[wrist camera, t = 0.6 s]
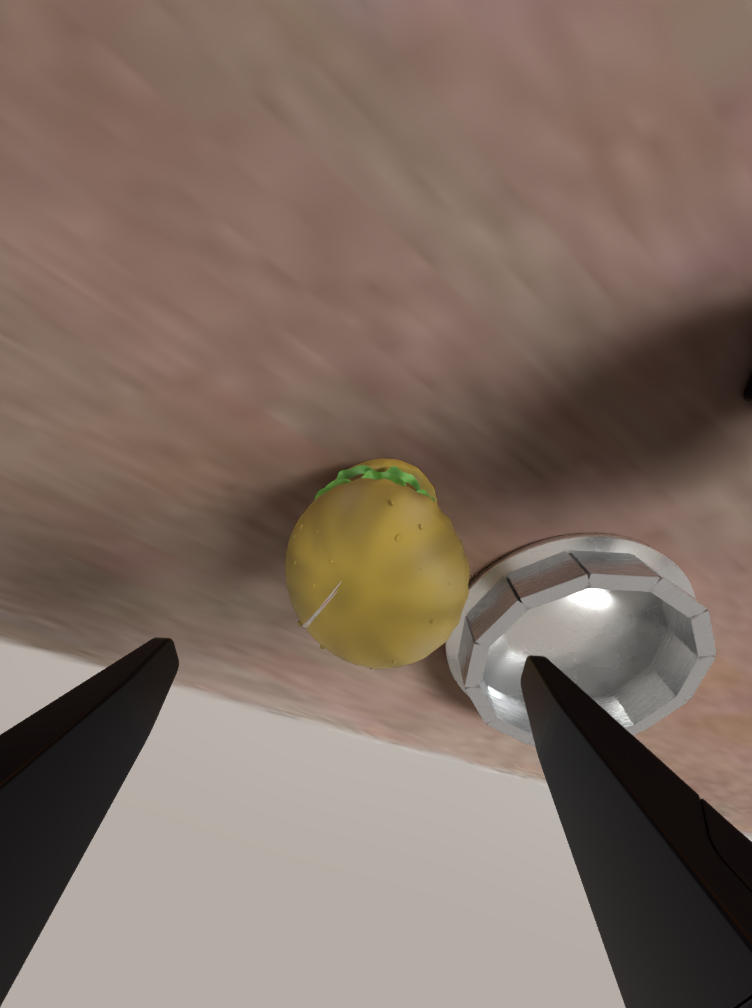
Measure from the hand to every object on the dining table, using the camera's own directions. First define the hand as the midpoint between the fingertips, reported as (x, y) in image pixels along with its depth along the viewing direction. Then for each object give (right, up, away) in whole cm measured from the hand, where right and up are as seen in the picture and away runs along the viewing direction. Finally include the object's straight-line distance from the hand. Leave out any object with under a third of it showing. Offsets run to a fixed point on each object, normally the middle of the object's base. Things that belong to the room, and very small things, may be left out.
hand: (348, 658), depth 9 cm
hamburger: (+1, +4, +12) cm, 13 cm away
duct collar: (+14, -6, +16) cm, 22 cm away
